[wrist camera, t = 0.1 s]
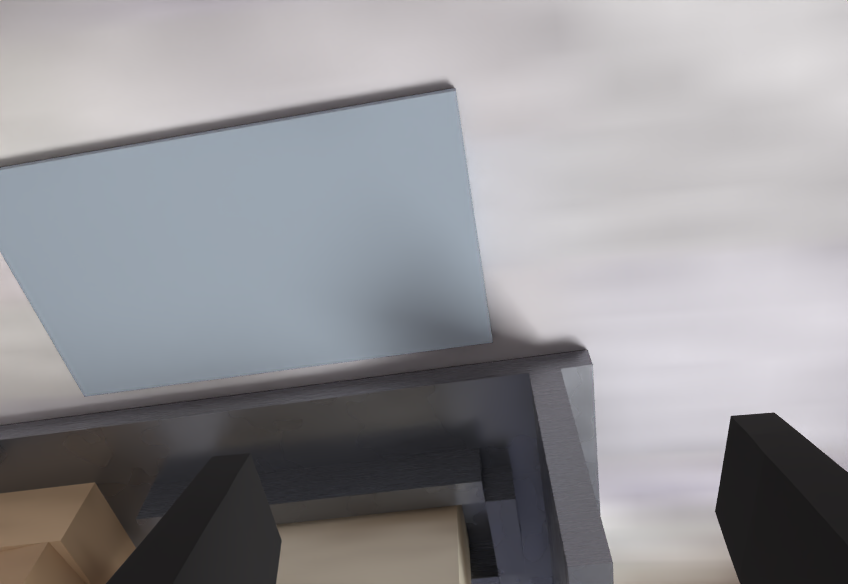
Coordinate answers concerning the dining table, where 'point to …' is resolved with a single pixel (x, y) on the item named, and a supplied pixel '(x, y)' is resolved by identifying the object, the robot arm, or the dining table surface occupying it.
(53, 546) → the offcuts
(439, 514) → the block
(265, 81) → the dining table surface
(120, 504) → the rack
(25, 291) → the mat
